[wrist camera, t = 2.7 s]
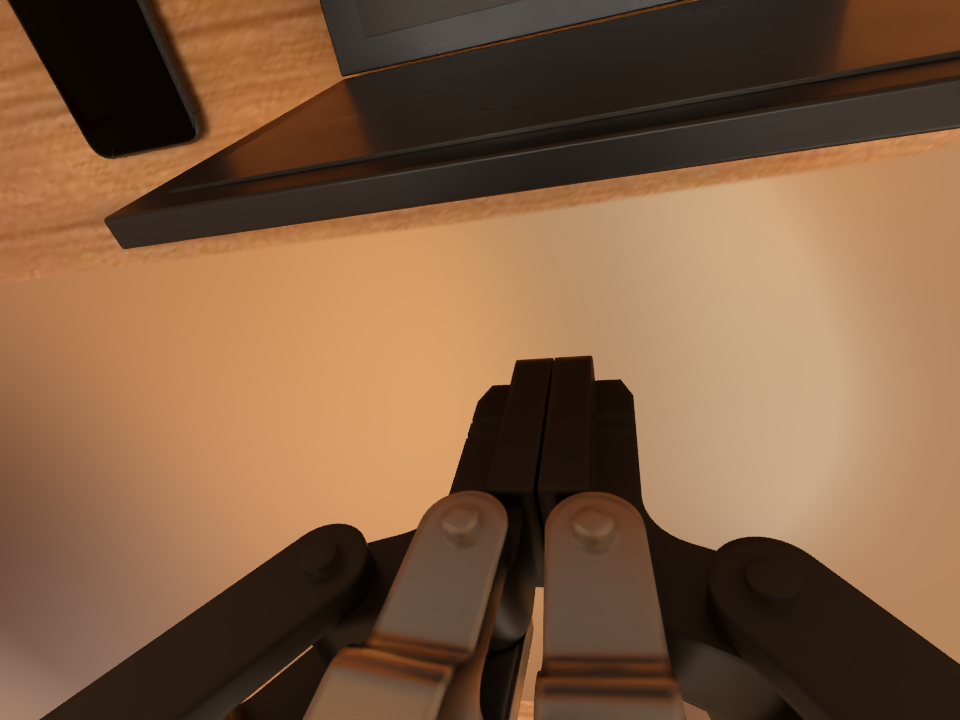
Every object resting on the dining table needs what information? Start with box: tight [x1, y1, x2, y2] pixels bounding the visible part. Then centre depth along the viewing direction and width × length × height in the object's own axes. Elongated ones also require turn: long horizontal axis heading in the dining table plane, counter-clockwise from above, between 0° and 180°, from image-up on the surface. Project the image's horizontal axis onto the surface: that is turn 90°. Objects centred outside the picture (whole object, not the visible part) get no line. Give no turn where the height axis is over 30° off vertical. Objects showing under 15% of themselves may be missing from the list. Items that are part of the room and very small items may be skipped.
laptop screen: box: [104, 0, 960, 249], centre depth 15 cm, size 15×20×1 cm
